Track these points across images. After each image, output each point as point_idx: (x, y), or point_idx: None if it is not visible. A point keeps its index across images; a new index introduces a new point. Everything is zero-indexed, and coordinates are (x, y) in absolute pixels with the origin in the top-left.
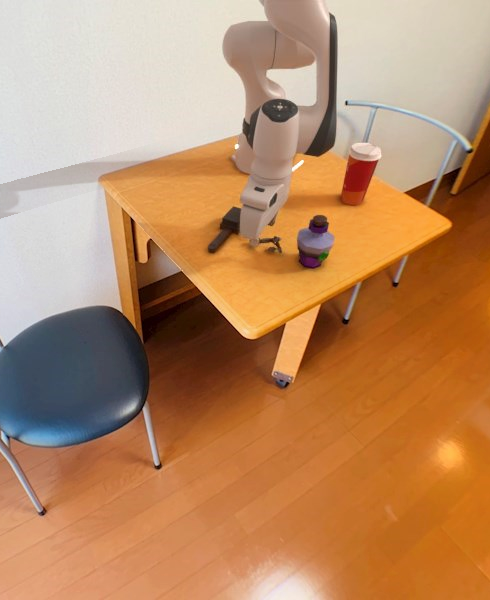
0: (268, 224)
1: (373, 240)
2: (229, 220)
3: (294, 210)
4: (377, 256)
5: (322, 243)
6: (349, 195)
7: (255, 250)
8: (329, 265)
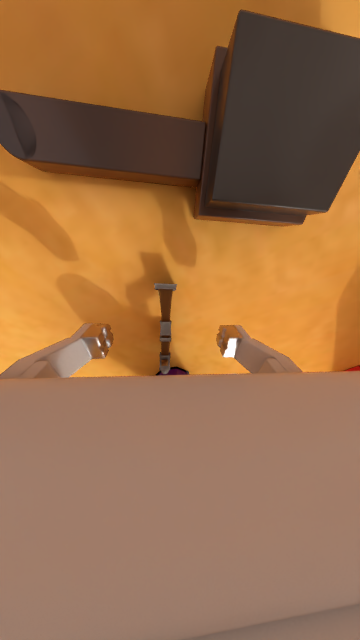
0: (219, 331)
1: None
2: (222, 123)
3: (331, 319)
4: None
5: None
6: None
7: (149, 300)
8: None
